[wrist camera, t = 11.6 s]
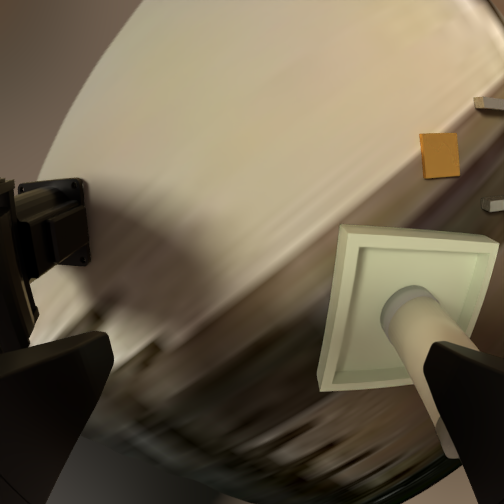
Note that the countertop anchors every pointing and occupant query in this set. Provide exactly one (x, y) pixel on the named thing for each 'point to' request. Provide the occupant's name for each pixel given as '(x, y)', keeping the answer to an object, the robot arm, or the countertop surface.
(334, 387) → the tray
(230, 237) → the countertop surface
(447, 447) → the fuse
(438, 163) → the blocks
